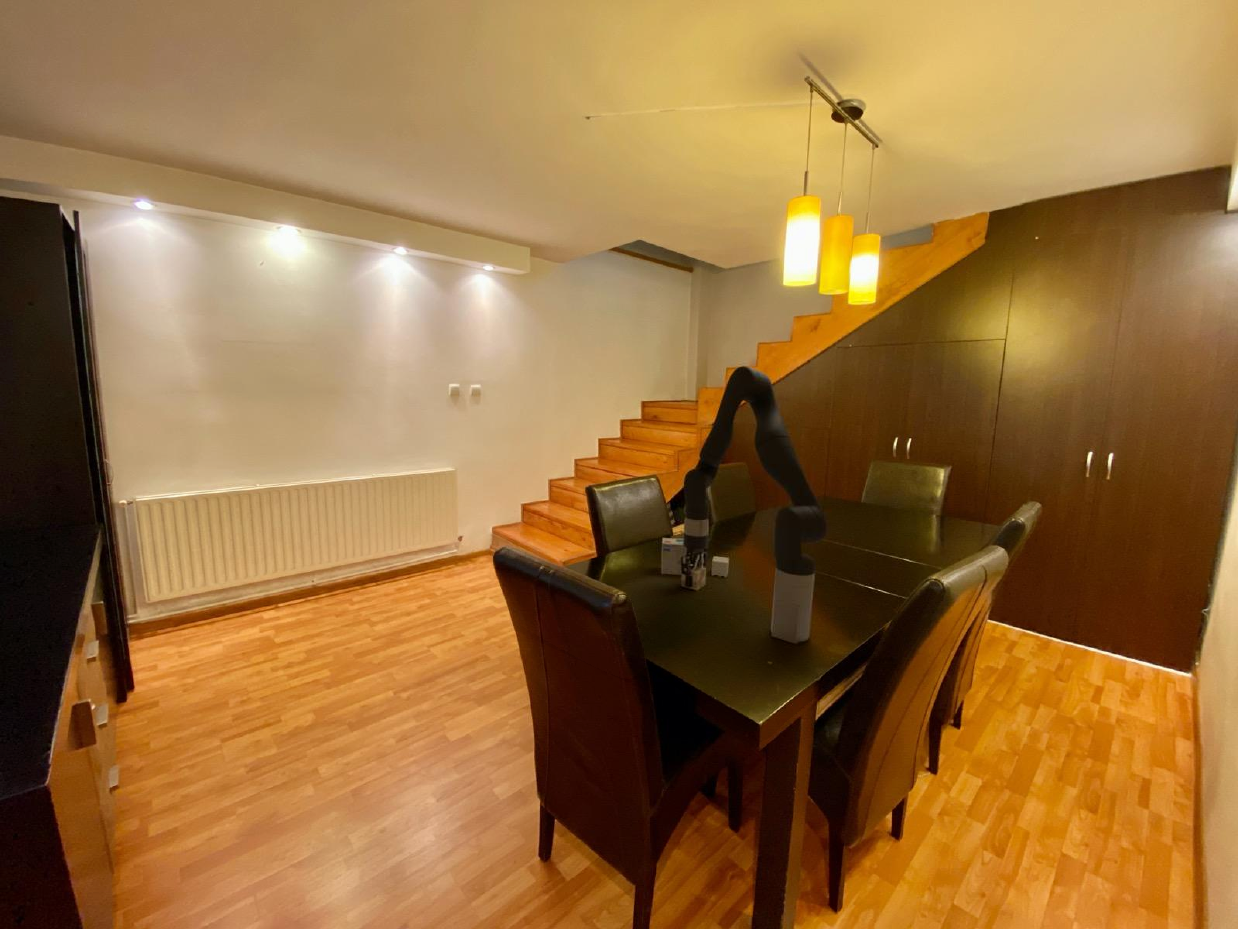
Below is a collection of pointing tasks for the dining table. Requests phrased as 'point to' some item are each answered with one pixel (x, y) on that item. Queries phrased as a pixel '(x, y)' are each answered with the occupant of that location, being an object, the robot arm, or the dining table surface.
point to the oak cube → (696, 578)
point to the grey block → (720, 566)
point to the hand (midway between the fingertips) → (693, 583)
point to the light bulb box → (672, 556)
